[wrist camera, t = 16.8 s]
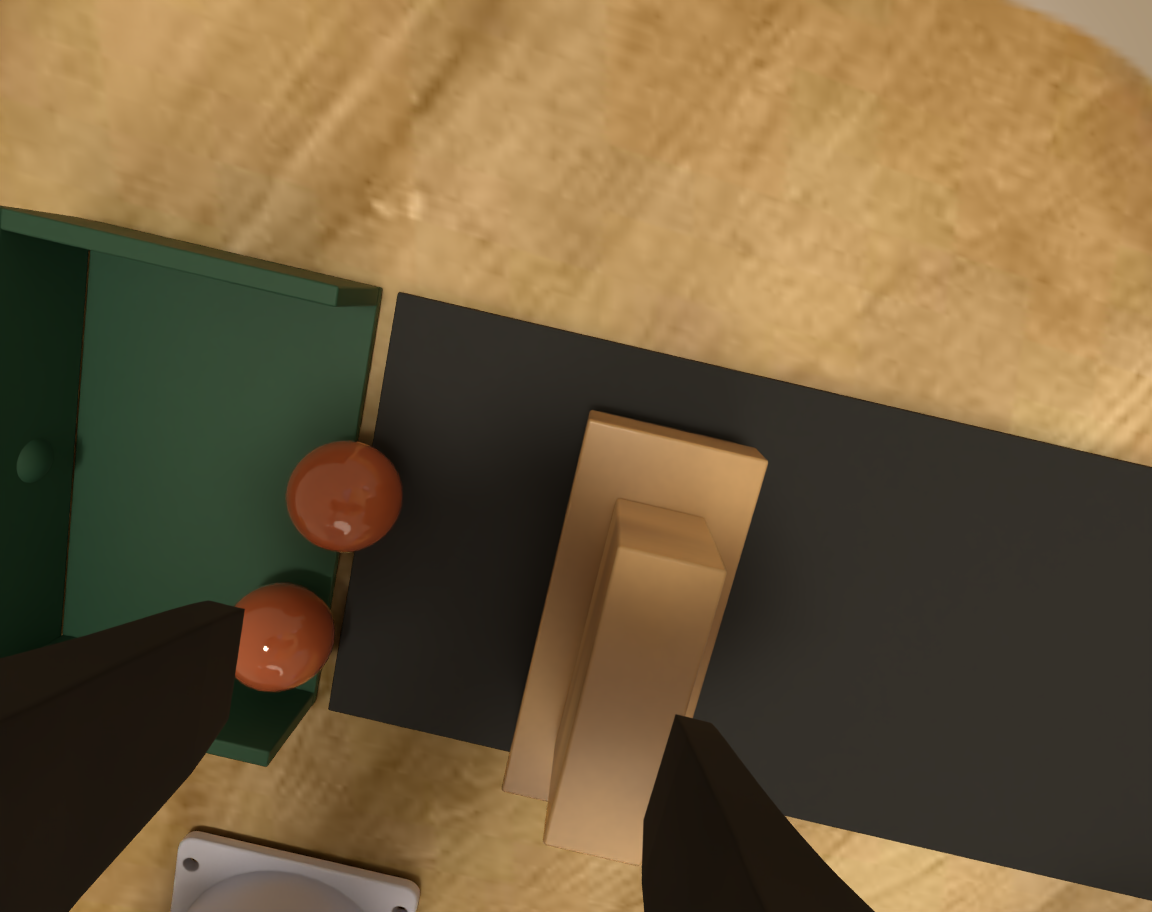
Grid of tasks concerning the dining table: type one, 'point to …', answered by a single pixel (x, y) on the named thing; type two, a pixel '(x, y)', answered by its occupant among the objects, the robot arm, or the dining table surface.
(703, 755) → the robot arm
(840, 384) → the dining table surface
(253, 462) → the dustpan
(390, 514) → the orange glossy ball
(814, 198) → the dining table surface
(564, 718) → the brush
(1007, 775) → the mat
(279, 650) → the red-brown glossy ball
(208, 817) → the dining table surface
